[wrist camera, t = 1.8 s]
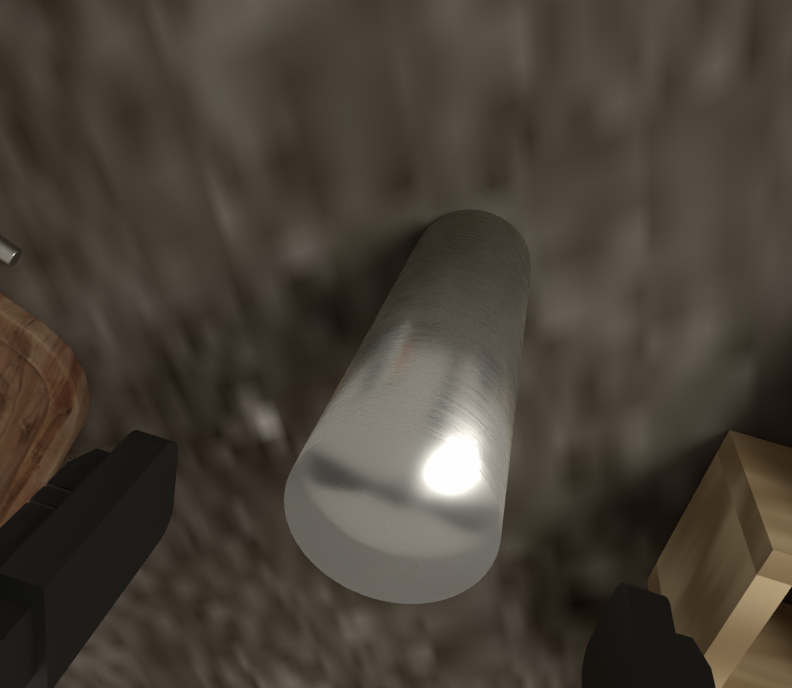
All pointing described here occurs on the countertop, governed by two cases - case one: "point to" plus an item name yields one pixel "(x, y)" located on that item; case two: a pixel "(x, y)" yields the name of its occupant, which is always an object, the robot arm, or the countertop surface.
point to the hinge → (736, 565)
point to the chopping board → (34, 400)
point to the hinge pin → (421, 423)
